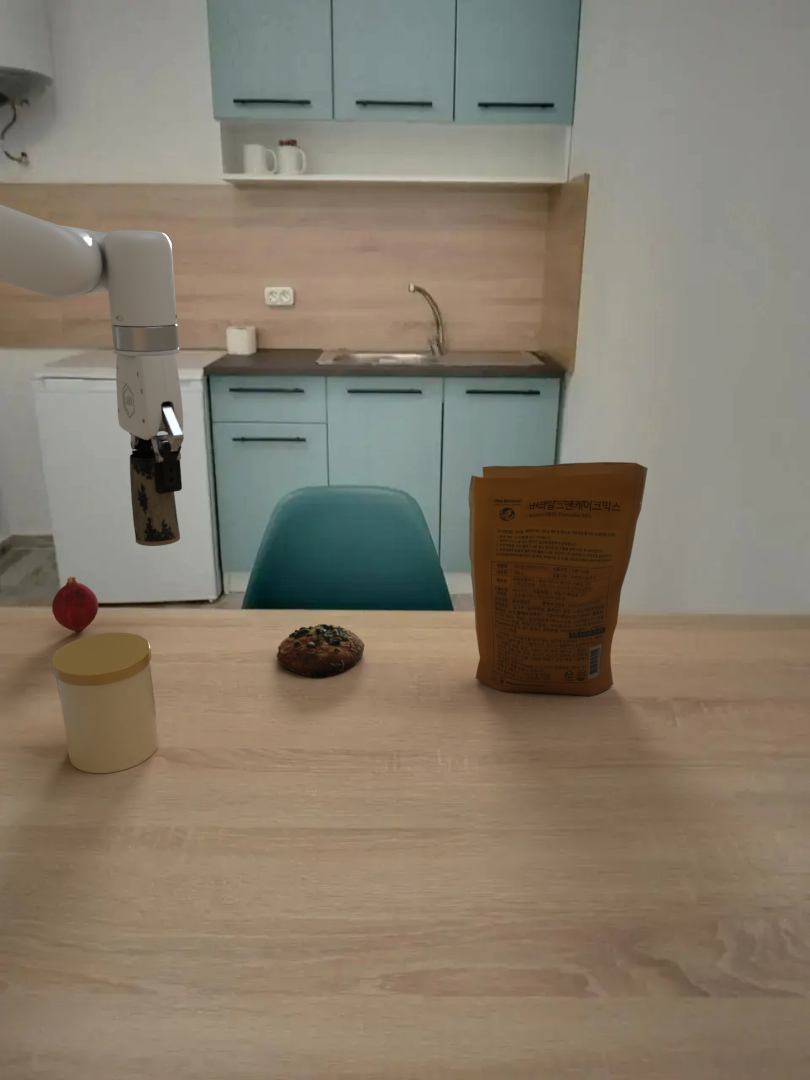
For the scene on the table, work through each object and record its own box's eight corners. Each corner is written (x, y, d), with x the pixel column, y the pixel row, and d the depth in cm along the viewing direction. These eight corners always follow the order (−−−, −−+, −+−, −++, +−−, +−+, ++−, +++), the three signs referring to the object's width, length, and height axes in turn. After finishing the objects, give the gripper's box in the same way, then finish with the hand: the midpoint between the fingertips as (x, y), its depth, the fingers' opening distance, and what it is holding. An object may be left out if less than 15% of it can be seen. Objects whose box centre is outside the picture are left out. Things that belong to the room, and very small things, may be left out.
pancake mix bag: (630, 706, 95) (654, 468, 86) (463, 697, 97) (468, 464, 87) (622, 677, 101) (643, 453, 92) (465, 670, 103) (470, 449, 94)
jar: (55, 743, 88) (39, 648, 84) (141, 714, 93) (130, 624, 90) (84, 786, 81) (68, 685, 77) (175, 752, 86) (164, 656, 83)
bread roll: (297, 685, 99) (294, 645, 98) (264, 659, 108) (262, 623, 107) (379, 666, 104) (377, 628, 103) (341, 644, 114) (339, 608, 113)
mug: (168, 547, 103) (160, 452, 99) (127, 545, 104) (117, 450, 100) (194, 529, 111) (187, 440, 107) (155, 526, 111) (147, 438, 108)
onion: (106, 633, 113) (99, 579, 110) (62, 644, 110) (53, 589, 107) (94, 619, 118) (87, 566, 115) (52, 629, 115) (43, 575, 112)
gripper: (90, 335, 103) (104, 475, 109) (142, 349, 90) (156, 507, 96) (148, 332, 108) (159, 467, 114) (206, 345, 95) (215, 496, 101)
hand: (157, 484), depth 105 cm, fingers closed on mug, 6 cm apart
